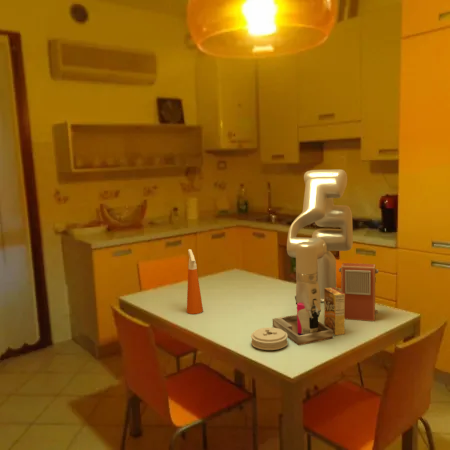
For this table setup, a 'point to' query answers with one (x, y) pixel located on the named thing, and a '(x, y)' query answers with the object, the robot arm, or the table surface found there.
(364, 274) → the red speaker
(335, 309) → the candy box
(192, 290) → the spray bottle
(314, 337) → the shallow rectangular tray
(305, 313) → the supplement box
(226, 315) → the table surface
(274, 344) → the lid
